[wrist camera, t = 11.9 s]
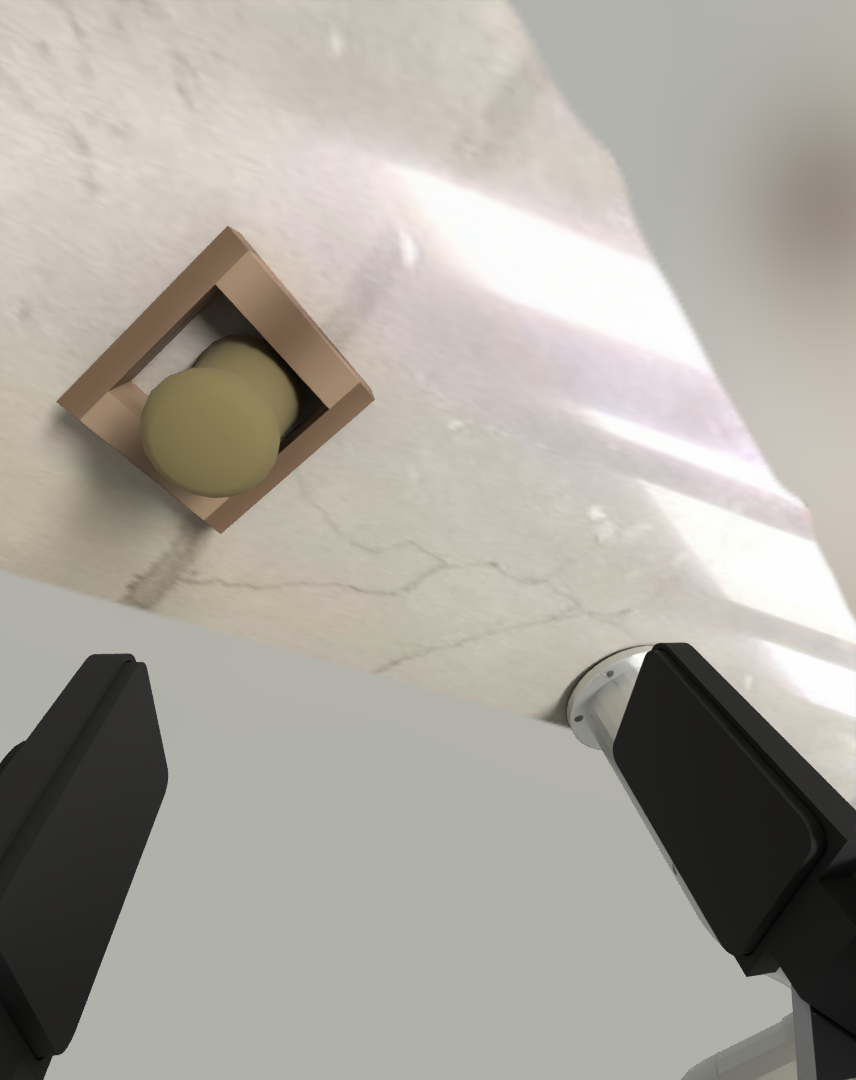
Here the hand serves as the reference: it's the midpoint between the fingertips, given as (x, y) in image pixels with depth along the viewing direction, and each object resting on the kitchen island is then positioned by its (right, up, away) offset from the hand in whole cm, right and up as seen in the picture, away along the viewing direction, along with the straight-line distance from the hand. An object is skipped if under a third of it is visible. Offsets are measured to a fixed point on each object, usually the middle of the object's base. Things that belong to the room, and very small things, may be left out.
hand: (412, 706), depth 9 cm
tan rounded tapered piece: (-10, +12, +19) cm, 24 cm away
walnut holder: (-11, +12, +18) cm, 24 cm away
